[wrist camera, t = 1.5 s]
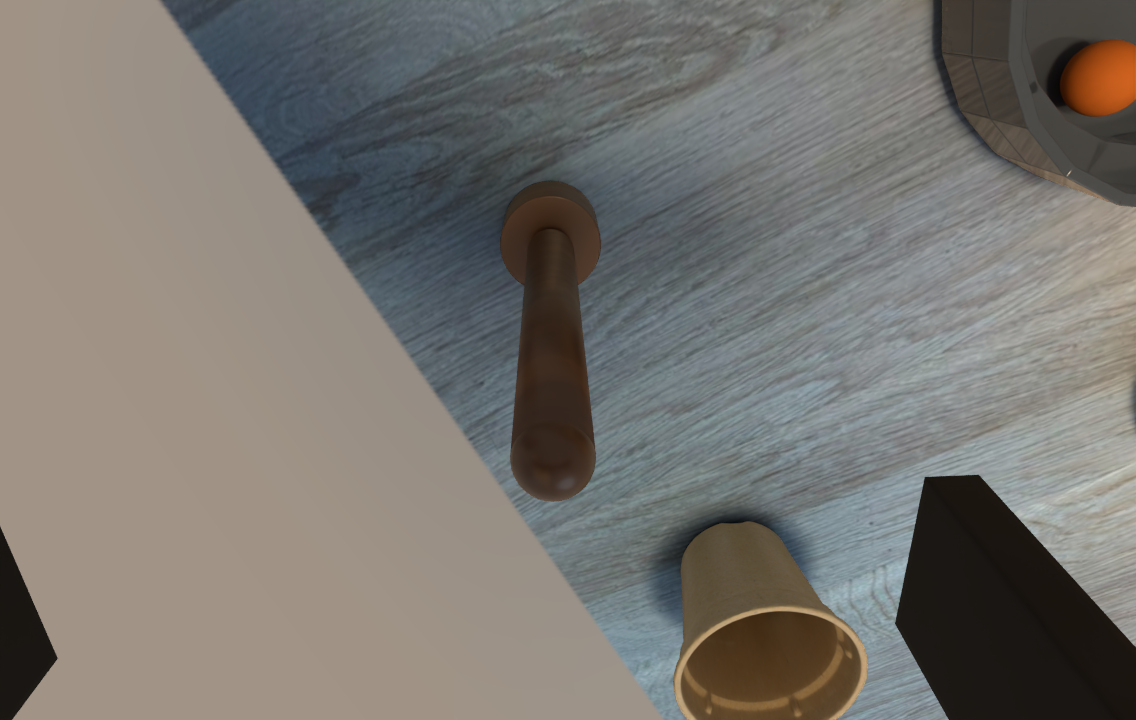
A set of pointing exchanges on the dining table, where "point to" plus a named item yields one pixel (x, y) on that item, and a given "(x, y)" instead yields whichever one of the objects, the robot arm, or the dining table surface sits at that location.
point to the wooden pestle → (551, 338)
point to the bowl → (1041, 88)
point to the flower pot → (760, 634)
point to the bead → (1100, 78)
